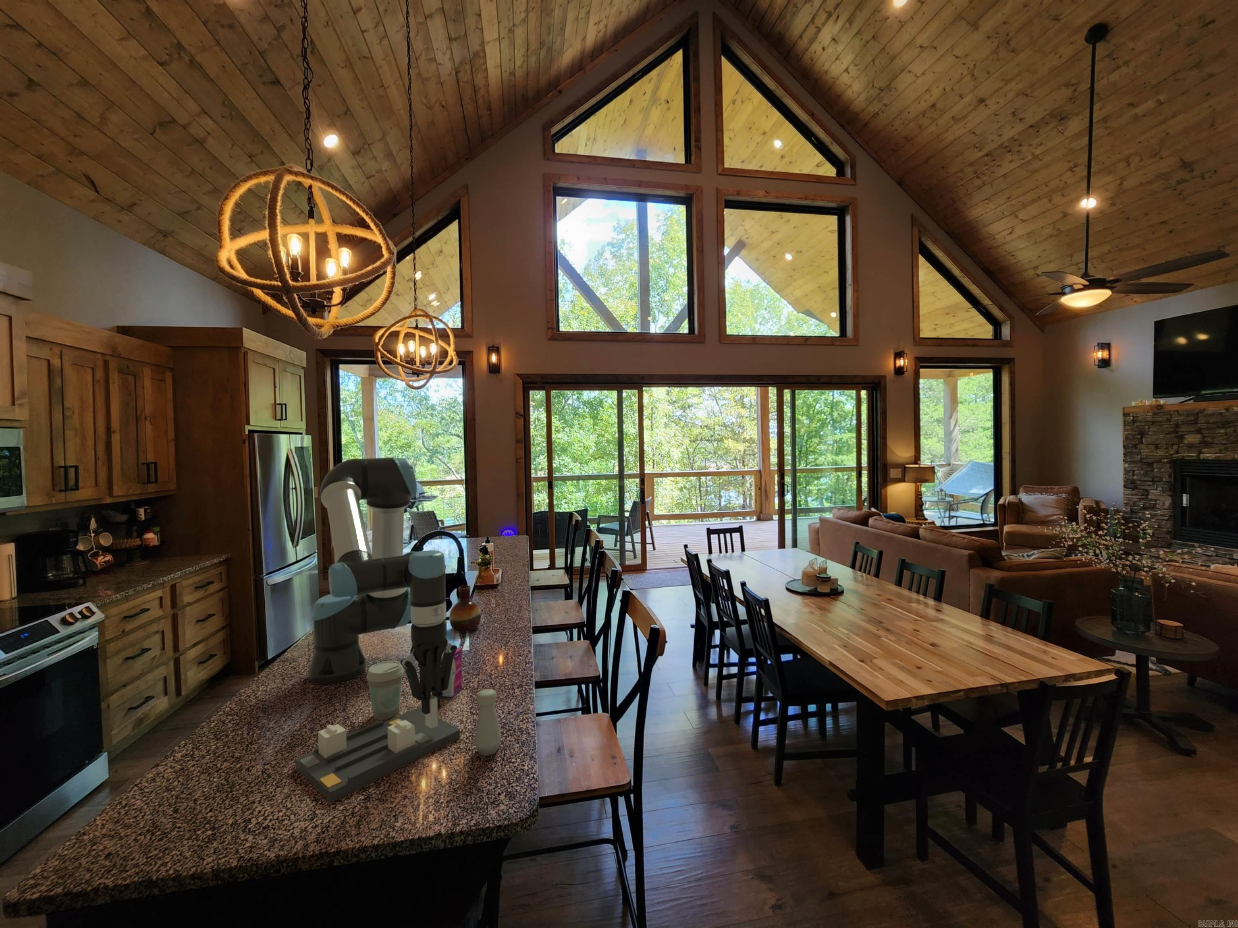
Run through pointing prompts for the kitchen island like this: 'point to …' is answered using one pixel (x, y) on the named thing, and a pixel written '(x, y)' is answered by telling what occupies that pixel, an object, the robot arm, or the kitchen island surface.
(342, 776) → the switch bank
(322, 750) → the white slider knob
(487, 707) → the salt shaker
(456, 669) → the supplement box
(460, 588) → the vase
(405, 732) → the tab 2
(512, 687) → the kitchen island surface
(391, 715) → the coffee cup
